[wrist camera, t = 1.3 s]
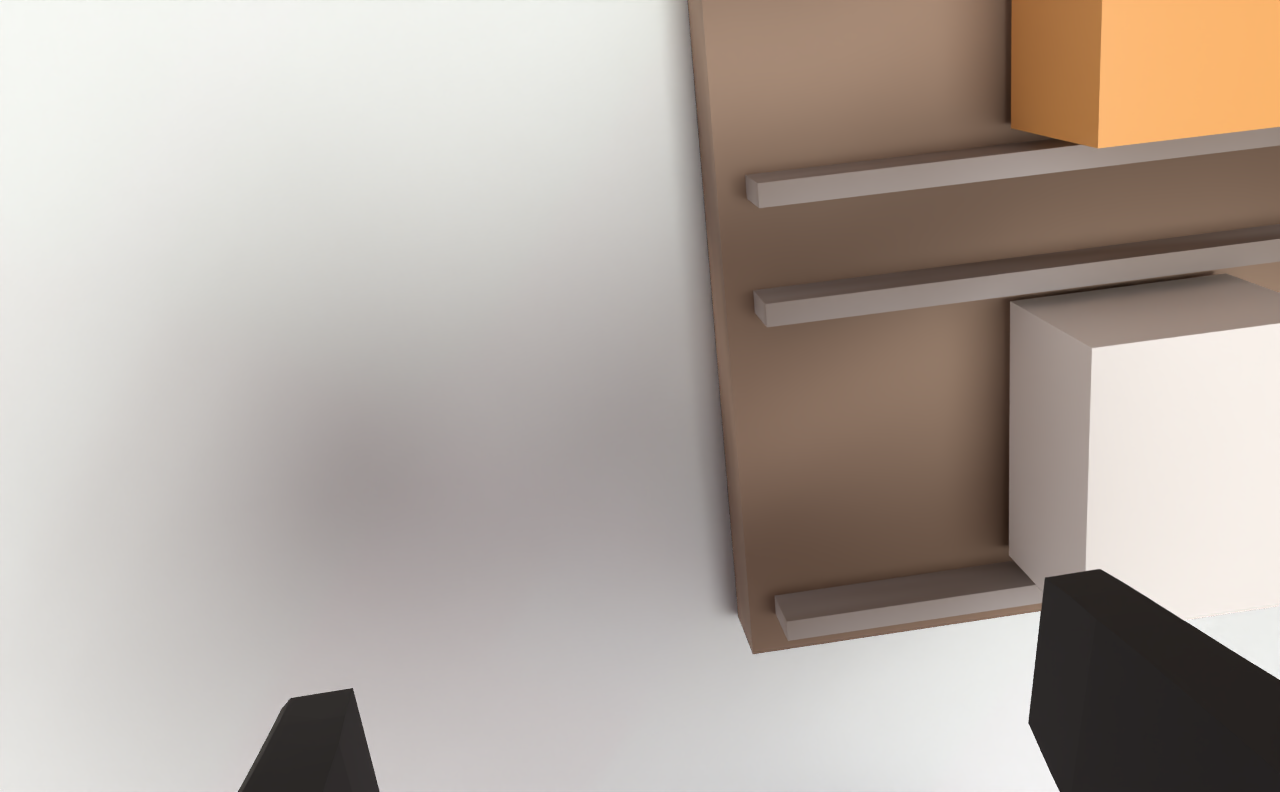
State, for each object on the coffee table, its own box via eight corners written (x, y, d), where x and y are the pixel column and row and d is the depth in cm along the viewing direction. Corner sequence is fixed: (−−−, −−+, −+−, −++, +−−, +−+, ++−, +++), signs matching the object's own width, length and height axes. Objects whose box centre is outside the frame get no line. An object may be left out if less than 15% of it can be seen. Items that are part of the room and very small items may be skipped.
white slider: (1208, 526, 22) (1311, 600, 19) (1009, 555, 22) (1083, 635, 19) (1226, 272, 21) (1340, 315, 18) (1010, 301, 20) (1092, 348, 18)
